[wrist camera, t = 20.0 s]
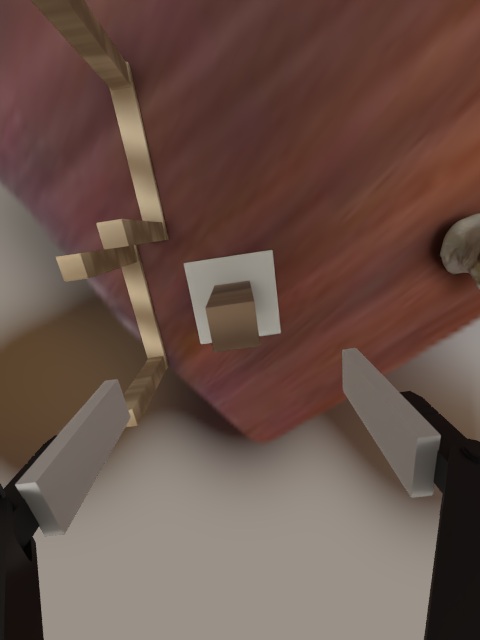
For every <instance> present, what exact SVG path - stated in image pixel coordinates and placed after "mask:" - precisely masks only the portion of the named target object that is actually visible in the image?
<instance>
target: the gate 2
mask: <svg viewBox="0 0 480 640" xmlns="http://www.w3.org/2000/svg"><path fill="white" fill-rule="evenodd" d="M56 259H57V262H58V265H59V268H60V270H61V273H62V276H63V279H64V281H65V282H66V281H73V280H80V279H87V278H90V277H93V276H97V275H100V274H103V273H106V272H109V271H112V270H115V269H118V268H122V271H123V275H124V278H125V282H126V285H127V288H128V292H129V295H130V299H131V302H132V306H133V309H134V313H135V316H136V320H137V323H138V326H139V330H140V333H141V337H142V340H143V344H144V347H145V351H146V354H147V357H148V360H147V362H146V363H145V365H144V366H143V368H142V369H141V371H140V372H139V374H138V375H137V376H136V378H135V379H134V381H133V382H132V384H131V385H130V387H129V388H128V390H127V391H126V393H125V394H124V395H123V396H124V399H125V402H126V405H127V408H128V411H129V414H130V416H131V418H130V419H129V421H128V423H127V425H126V427H131V426H137V425H138V424H139V422H140V420H141V418H142V416H143V414H144V412H145V410H146V408H147V406H148V404H149V402H150V400H151V398H152V396H153V394H154V392H155V390H156V388H157V386H158V384H159V382H160V381H161V379H162V377H163V375H164V373H165V371H166V369H168V367H169V365H168V361H167V357H166V353H165V349H164V346H163V342H162V338H161V334H160V330H159V327H158V323H157V319H156V315H155V311H154V308H153V304H152V300H151V296H150V292H149V289H148V285H147V281H146V277H145V273H144V270H143V266H142V262H141V258H140V254H139V251H138V247H137V245H131V246H125V247H118V248H112V249H105V250H98V251H92V252H85V253H79V254H72V255H66V256H60V257H56Z"/></svg>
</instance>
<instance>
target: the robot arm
mask: <svg viewBox="0 0 480 640" xmlns="http://www.w3.org/2000/svg"><path fill="white" fill-rule="evenodd" d="M342 363H343V392H344V393H345V395H346V396H347V398H348V399H349V401H350V403H351V404H352V405H353V407H354V409H355V410H356V412H357V413H358V415H359V416H360V418H361V420H362V421H363V423H364V424H365V426H366V428H367V429H368V431H369V432H370V434H371V435H372V437H373V438H374V440H375V442H376V443H377V445H378V446H379V448H380V449H381V451H382V453H383V454H384V456H385V457H386V459H387V460H388V462H389V464H390V465H391V466H392V468H393V470H394V471H395V473H396V474H397V476H398V478H399V479H400V481H401V482H402V484H403V485H404V487H405V489H406V490H407V492H408V493H409V495H410V496H411V498H412V497H421V496H430V495H433V490H434V483H435V484H436V486H437V487H438V488H439V490H440V491H441V492H442V493H443V497H442V503H441V510H440V519H439V527H438V535H437V542H436V551H435V558H434V566H433V574H432V582H431V589H430V597H429V605H428V613H427V620H426V629H425V636H424V640H480V442H479V441H476V440H471V439H467V438H466V437H464V436H463V435H462V434H461V433H460V432H459V431H458V430H457V429H456V428H455V427H454V426H453V425H452V424H450V423H449V422H448V421H447V420H446V419H445V418H444V417H443V416H442V415H441V414H439V413H438V412H437V411H436V410H435V409H434V408H433V407H431V405H430V404H429V403H428V402H427V401H425V399H423V398H422V397H421V396H419V395H416V394H415V393H413V392H411V391H407V392H398V391H397V390H396V389H395V388H394V387H393V385H391V384H390V382H389V381H388V380H387V379H386V378H385V377H384V376H383V375H382V374H381V373H380V372H379V371H378V370H377V369H376V368H375V367H374V366H373V365H372V364H371V363H370V362H369V361H368V360H367V359H366V358H365V357H364V356H363V355H362V354H361V353H360V352H359V351H358V350H357V348H351V349H343V350H342ZM130 418H131V416H130V414H129V411H128V408H127V405H126V402H125V399H124V396H123V393H122V390H121V387H120V385H119V382H118V379H115V380H107V381H104V383H103V384H102V385H101V386H100V387H99V389H98V390H97V391H96V392H95V393H94V394H93V395H92V397H91V398H90V399H89V400H88V401H87V402H86V403H85V405H84V406H83V407H82V408H81V409H80V410H79V411H78V413H77V414H76V415H75V416H74V417H73V418H72V420H71V421H70V422H69V423H68V424H67V425H66V426H65V428H64V429H63V430H62V431H61V432H60V433H59V434H58V435H56V436H54V437H53V438H51V439H50V440H49V441H47V442H46V443H45V444H43V446H42V447H41V448H40V449H39V450H38V451H37V452H36V453H35V456H33V457H32V458H31V459H30V460H29V461H28V464H25V466H24V467H23V468H22V469H21V470H20V471H19V472H18V473H17V474H16V476H15V477H14V478H13V479H12V480H11V481H10V482H9V484H8V485H7V486H6V487H5V488H4V489H3V487H2V486H1V484H0V640H44V638H43V626H42V615H41V602H40V589H39V577H38V565H37V553H36V543H35V540H34V538H33V537H32V536H33V535H34V533H35V532H36V530H37V528H38V527H40V528H41V530H42V532H43V534H44V535H45V536H54V535H55V536H56V535H64V534H65V532H66V531H67V529H68V527H69V525H70V524H71V522H72V520H73V518H74V517H75V515H76V513H77V511H78V509H79V508H80V506H81V504H82V502H83V501H84V499H85V497H86V495H87V493H88V492H89V490H90V488H91V487H92V485H93V483H94V481H95V479H96V477H97V476H98V474H99V472H100V471H101V469H102V467H103V465H104V464H105V462H106V460H107V458H108V456H109V455H110V453H111V451H112V449H113V448H114V446H115V444H116V442H117V440H118V439H119V437H120V435H121V433H122V432H123V430H124V428H125V427H126V425H127V423H128V421H129V419H130Z"/></svg>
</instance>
